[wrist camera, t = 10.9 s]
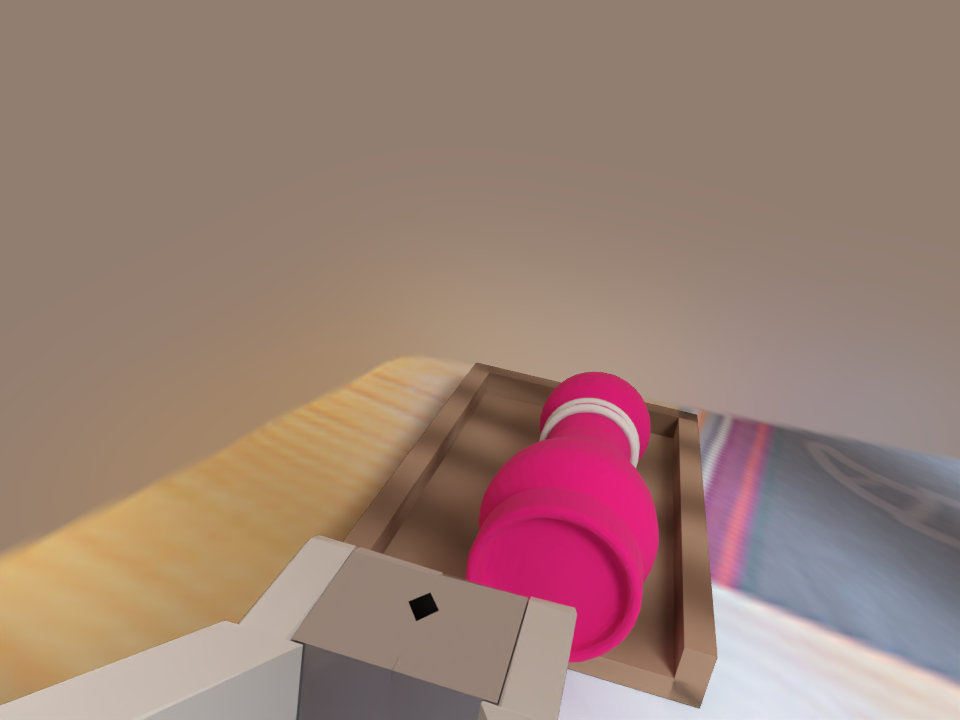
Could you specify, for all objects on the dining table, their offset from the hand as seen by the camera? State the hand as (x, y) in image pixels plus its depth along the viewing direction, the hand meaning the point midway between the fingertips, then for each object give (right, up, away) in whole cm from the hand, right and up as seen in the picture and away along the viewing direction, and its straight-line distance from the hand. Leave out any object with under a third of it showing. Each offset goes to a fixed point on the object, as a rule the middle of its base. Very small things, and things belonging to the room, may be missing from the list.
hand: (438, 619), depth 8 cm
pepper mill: (+3, -5, +17) cm, 18 cm away
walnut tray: (+4, -5, +32) cm, 32 cm away
